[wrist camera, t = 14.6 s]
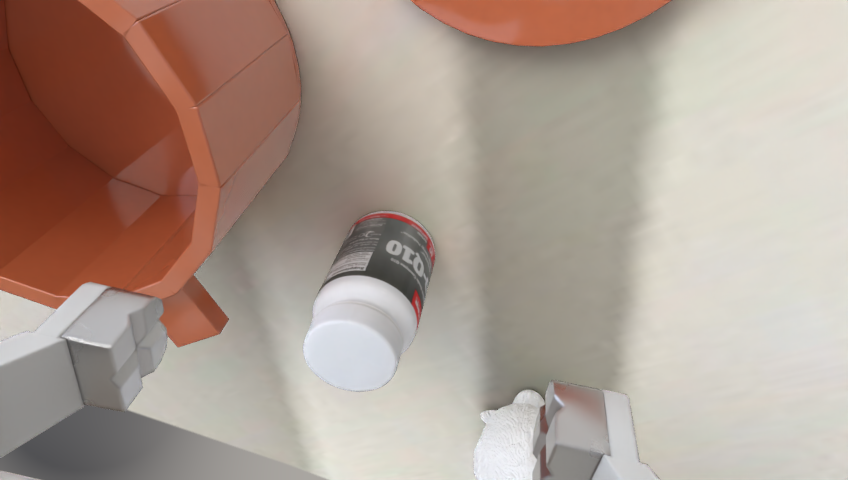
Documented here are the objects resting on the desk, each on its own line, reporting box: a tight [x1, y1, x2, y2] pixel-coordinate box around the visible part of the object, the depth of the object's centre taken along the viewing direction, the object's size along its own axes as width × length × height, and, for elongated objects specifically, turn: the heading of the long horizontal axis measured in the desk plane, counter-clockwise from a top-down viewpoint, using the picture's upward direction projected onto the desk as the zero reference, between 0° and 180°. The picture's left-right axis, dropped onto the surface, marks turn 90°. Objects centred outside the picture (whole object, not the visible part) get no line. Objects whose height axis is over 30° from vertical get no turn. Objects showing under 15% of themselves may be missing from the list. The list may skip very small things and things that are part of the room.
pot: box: [0, 0, 301, 347], centre depth 25 cm, size 15×20×9 cm
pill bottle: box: [303, 211, 435, 392], centre depth 29 cm, size 5×5×8 cm
